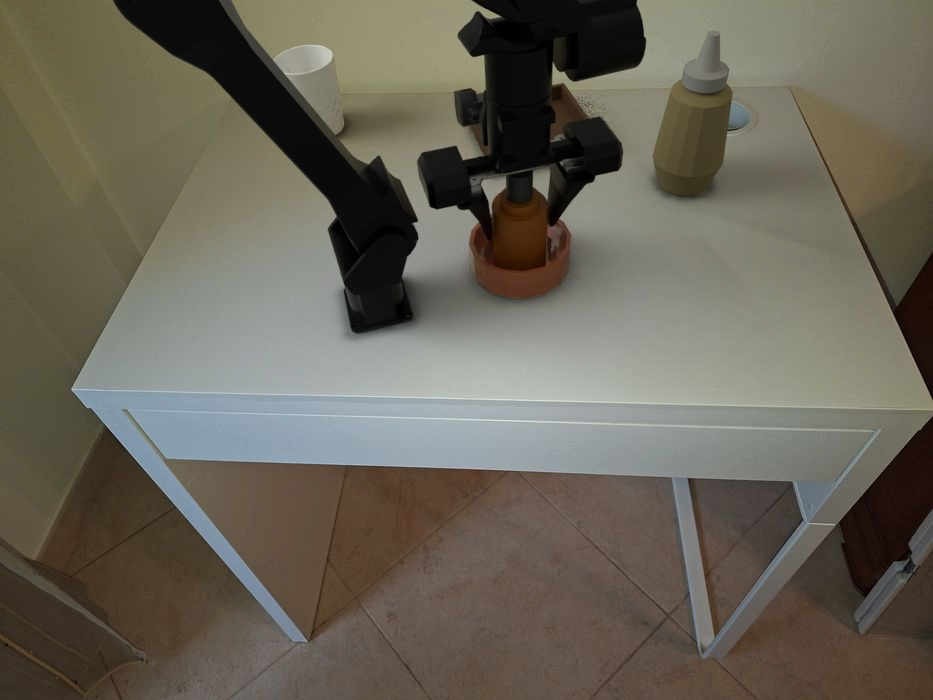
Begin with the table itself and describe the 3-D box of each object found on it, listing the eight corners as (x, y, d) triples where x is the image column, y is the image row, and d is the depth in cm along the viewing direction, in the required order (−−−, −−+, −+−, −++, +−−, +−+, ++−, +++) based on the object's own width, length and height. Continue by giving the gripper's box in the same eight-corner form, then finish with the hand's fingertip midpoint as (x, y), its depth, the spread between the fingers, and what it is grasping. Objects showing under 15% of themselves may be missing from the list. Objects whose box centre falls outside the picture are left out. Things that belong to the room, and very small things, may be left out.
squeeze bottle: (666, 209, 79) (696, 59, 65) (636, 170, 84) (658, 23, 70) (729, 194, 80) (772, 43, 66) (696, 157, 85) (730, 9, 71)
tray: (600, 153, 87) (602, 136, 85) (494, 176, 85) (493, 159, 83) (563, 99, 96) (563, 82, 94) (466, 118, 94) (464, 102, 92)
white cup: (339, 145, 92) (322, 74, 84) (285, 143, 93) (263, 73, 85) (354, 113, 97) (340, 44, 89) (302, 112, 98) (284, 44, 90)
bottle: (552, 274, 72) (557, 180, 63) (502, 286, 72) (499, 193, 62) (536, 241, 76) (538, 148, 67) (488, 252, 75) (483, 160, 66)
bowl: (583, 288, 71) (585, 260, 68) (486, 311, 70) (484, 283, 67) (550, 227, 78) (551, 198, 75) (461, 246, 77) (458, 218, 74)
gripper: (587, 31, 65) (577, 169, 76) (395, 67, 62) (416, 203, 74) (634, 87, 57) (615, 230, 69) (420, 130, 55) (439, 270, 67)
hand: (519, 231), depth 70 cm, fingers open, 6 cm apart
